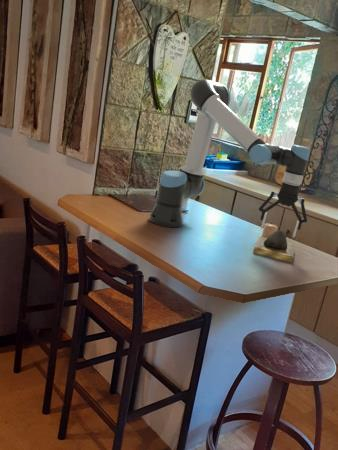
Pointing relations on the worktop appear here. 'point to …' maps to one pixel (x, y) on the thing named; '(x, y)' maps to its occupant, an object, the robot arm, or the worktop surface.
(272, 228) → the peach rounded capsule
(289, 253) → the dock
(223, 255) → the worktop surface
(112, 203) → the worktop surface
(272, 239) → the stone
